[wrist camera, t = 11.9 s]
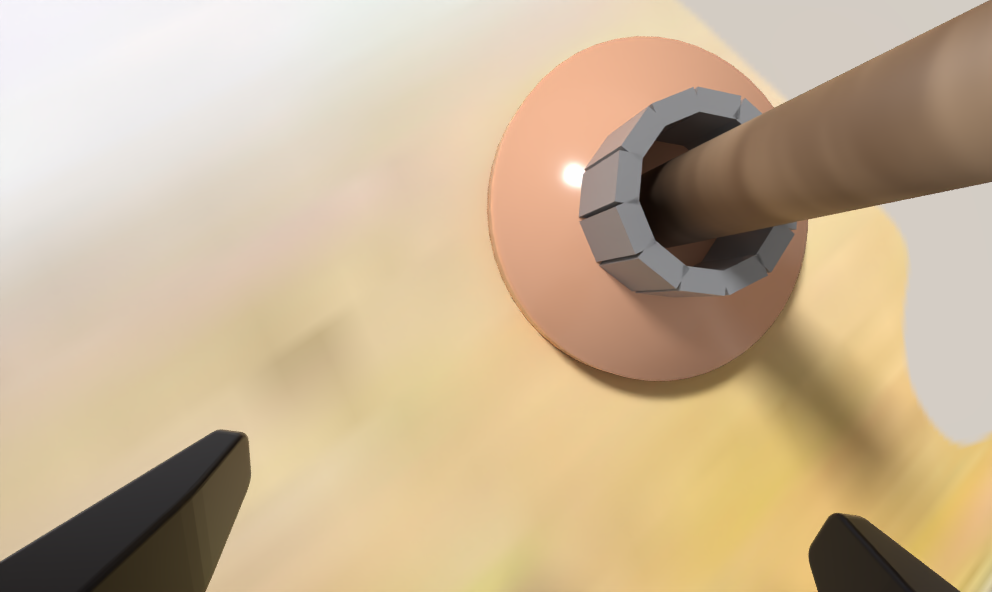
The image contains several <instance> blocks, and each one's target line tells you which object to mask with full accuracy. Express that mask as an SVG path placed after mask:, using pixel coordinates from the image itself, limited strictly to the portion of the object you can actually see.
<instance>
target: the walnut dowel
mask: <svg viewBox="0 0 992 592" xmlns="http://www.w3.org/2000/svg"><path fill="white" fill-rule="evenodd" d="M988 182H992V0H989V1H987V2H985V3H983V4H981V5H979V6H977V7H975V8H973V9H971V10H969V11H967V12H965V13H963V14H961V15H959V16H957V17H955V18H953V19H951V20H949V21H947V22H945V23H943V24H941V25H939V26H937V27H935V28H933V29H931V30H929V31H927V32H925V33H923V34H921V35H919V36H917V37H915V38H913V39H911V40H909V41H907V42H905V43H903V44H901V45H899V46H897V47H895V48H894V49H891V50H889V51H887V52H885V53H883V54H881V55H879V56H877V57H875V58H873V59H871V60H869V61H867V62H865V63H863V64H861V65H859V66H857V67H855V68H853V69H851V70H850V71H847V72H845V73H843V74H841V75H839V76H837V77H835V78H833V79H831V80H829V81H827V82H825V83H823V84H821V85H819V86H817V87H815V88H813V89H812V90H809V91H807V92H805V93H803V94H801V95H799V96H797V97H795V98H793V99H791V100H789V101H787V102H785V103H783V104H781V105H779V106H777V107H775V108H773V109H771V110H769V111H767V112H765V113H763V114H761V115H759V116H757V117H755V118H753V119H751V120H749V121H747V122H745V123H743V124H741V125H739V126H737V127H735V128H733V129H731V130H729V131H727V132H725V133H723V134H721V135H719V136H717V137H715V138H713V139H711V140H709V141H707V142H705V143H703V144H701V145H699V146H697V147H695V148H693V149H691V150H689V151H687V152H685V153H683V154H681V155H679V156H677V157H675V158H673V159H671V160H669V161H667V162H665V163H663V164H661V165H659V166H657V167H655V168H653V169H651V170H649V171H647V172H645V173H644V174H642V175H641V183H640V194H639V202H640V205H641V207H642V210H643V212H644V214H645V217H646V219H647V222H648V224H649V227H650V229H651V231H652V234H653V236H654V239H655V241H656V242H658V243H659V244H660V245H661V246H663V247H664V248H670V247H675V246H680V245H685V244H690V243H695V242H699V241H704V240H709V239H714V238H719V237H724V236H729V235H734V234H739V233H744V232H748V231H753V230H758V229H763V228H768V227H773V226H778V225H783V224H788V223H793V222H797V221H802V220H807V219H812V218H817V217H822V216H827V215H832V214H837V213H842V212H846V211H851V210H856V209H861V208H866V207H871V206H876V205H881V204H886V203H891V202H895V201H900V200H905V199H910V198H915V197H920V196H925V195H930V194H935V193H940V192H944V191H949V190H954V189H959V188H964V187H969V186H974V185H979V184H984V183H988Z"/></svg>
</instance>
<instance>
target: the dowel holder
mask: <svg viewBox="0 0 992 592" xmlns="http://www.w3.org/2000/svg"><path fill="white" fill-rule="evenodd" d="M773 108H774V107H773V106H772V105H771V103H770V102H769V101H768V99H767V98H766V97H765V95H764V94H763V93H762V92H761V91H760V90H759V89H758V88H757V87H756V86H755V85H754V84H753V83H752V82H751V81H750V79H748V78H747V77H746V76H745V75H744V74H742V73H741V72H740V71H739V70H737V69H736V68H735V67H734V66H732V65H731V64H729V63H728V62H726V61H725V60H723V59H721V58H720V57H718V56H717V55H715V54H713V53H710V52H708V51H706V50H704V49H702V48H700V47H697V46H695V45H691V44H688V43H685V42H682V41H678V40H673V39H667V38H661V37H641V36H636V37H628V38H620V39H614V40H610V41H607V42H603V43H600V44H596V45H594V46H592V47H589V48H587V49H585V50H583V51H580V52H578V53H576V54H575V55H573V56H572V57H570V58H568V59H567V60H565V61H564V62H562V63H561V64H559V65H558V66H557V67H555V68H554V69H553V70H552V71H551V72H550V73H549V74H547V75H546V76H545V77H544V78H543V79H542V80H541V81H540V82H539V83H538V85H537V86H536V87H535V88H534V89H533V90H532V91H531V93H530V94H529V95H528V96H527V98H526V99H525V100H524V102H523V103H522V104H521V106H520V107H519V109H518V110H517V112H516V113H515V115H514V116H513V118H512V120H511V121H510V123H509V124H508V126H507V128H506V130H505V132H504V134H503V137H502V139H501V141H500V143H499V145H498V148H497V151H496V155H495V158H494V161H493V164H492V168H491V174H490V180H489V186H488V204H487V215H488V226H489V236H490V240H491V245H492V249H493V253H494V258H495V260H496V263H497V266H498V269H499V271H500V274H501V277H502V279H503V281H504V283H505V285H506V287H507V289H508V291H509V293H510V295H511V297H512V299H513V300H514V302H515V303H516V305H517V306H518V308H519V309H520V310H521V312H522V313H523V315H524V316H525V318H526V319H527V320H528V321H529V322H530V323H531V324H532V325H533V326H534V328H535V329H536V330H537V331H538V332H539V333H540V334H541V335H542V336H543V337H545V338H546V339H547V340H548V341H549V342H550V343H552V344H553V345H554V346H555V347H556V348H558V349H559V350H561V351H563V352H564V353H566V354H567V355H569V356H570V357H572V358H573V359H575V360H577V361H580V362H582V363H584V364H586V365H588V366H590V367H593V368H596V369H599V370H602V371H606V372H609V373H612V374H616V375H619V376H623V377H626V378H633V379H639V380H646V381H671V380H678V379H685V378H690V377H693V376H697V375H700V374H704V373H707V372H710V371H712V370H714V369H716V368H718V367H721V366H723V365H725V364H727V363H728V362H730V361H732V360H733V359H735V358H736V357H738V356H739V355H741V354H743V353H744V352H745V351H746V350H747V349H749V348H750V347H751V346H752V345H753V344H754V343H756V342H757V341H758V340H759V339H760V338H761V337H762V336H763V334H764V333H765V332H766V331H767V330H768V329H769V328H770V327H771V326H772V324H773V323H774V321H775V320H776V318H777V317H778V316H779V314H780V313H781V311H782V310H783V308H784V306H785V304H786V303H787V301H788V299H789V297H790V295H791V293H792V291H793V289H794V286H795V283H796V281H797V278H798V275H799V273H800V269H801V265H802V261H803V257H804V253H805V247H806V240H807V232H808V219H807V220H802V221H797V222H793V223H788V224H783V225H778V226H773V227H768V228H763V229H758V230H753V231H748V232H744V233H739V234H734V235H729V236H724V237H719V238H714V239H709V240H704V241H699V242H695V243H690V244H685V245H680V246H675V247H670V248H664V247H663V246H661V245H660V244H659V243H658V242H656V241H655V239H654V236H653V234H652V231H651V229H650V227H649V224H648V222H647V219H646V217H645V214H644V212H643V210H642V207H641V205H640V202H639V194H640V183H641V175H642V174H644V173H645V172H647V171H649V170H651V169H653V168H655V167H657V166H659V165H661V164H663V163H665V162H667V161H669V160H671V159H673V158H675V157H677V156H679V155H681V154H683V153H685V152H687V151H689V150H691V149H693V148H695V147H697V146H699V145H701V144H703V143H705V142H707V141H709V140H711V139H713V138H715V137H717V136H719V135H721V134H723V133H725V132H727V131H729V130H731V129H733V128H735V127H737V126H739V125H741V124H743V123H745V122H747V121H749V120H751V119H753V118H755V117H757V116H759V115H761V114H763V113H765V112H767V111H769V110H771V109H773Z"/></svg>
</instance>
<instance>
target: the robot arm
mask: <svg viewBox="0 0 992 592" xmlns="http://www.w3.org/2000/svg"><path fill="white" fill-rule="evenodd" d="M250 479H251V466H250V453H249V441H248V437H247V435H246V434H245V433H243V432H236V431H229V430H216V431H214V432H212V433H210V434H209V435H207V436H205V437H204V438H202V439H200V440H199V441H197V442H196V443H194V444H192V445H191V446H189V447H187V448H186V449H184V450H182V451H181V452H179V453H178V454H176V455H174V456H173V457H171V458H169V459H168V460H166V461H164V462H163V463H161V464H159V465H158V466H156V467H155V468H153V469H151V470H150V471H148V472H146V473H145V474H143V475H141V476H140V477H138V478H137V479H135V480H133V481H132V482H130V483H128V484H127V485H125V486H123V487H122V488H120V489H118V490H117V491H115V492H114V493H112V494H110V495H109V496H107V497H105V498H104V499H102V500H100V501H99V502H97V503H96V504H94V505H92V506H91V507H89V508H87V509H86V510H84V511H82V512H81V513H79V514H78V515H76V516H74V517H73V518H71V519H69V520H68V521H66V522H64V523H63V524H61V525H59V526H58V527H56V528H55V529H53V530H51V531H50V532H48V533H46V534H45V535H43V536H41V537H40V538H38V539H37V540H35V541H33V542H32V543H30V544H28V545H27V546H25V547H23V548H22V549H20V550H18V551H17V552H15V553H14V554H12V555H10V556H9V557H7V558H5V559H4V560H2V561H0V592H205V591H206V589H207V587H208V585H209V582H210V580H211V578H212V575H213V573H214V571H215V568H216V566H217V563H218V561H219V558H220V556H221V554H222V551H223V549H224V546H225V544H226V541H227V539H228V536H229V534H230V532H231V529H232V527H233V524H234V522H235V519H236V517H237V514H238V512H239V509H240V507H241V505H242V502H243V500H244V497H245V495H246V492H247V490H248V487H249V483H250ZM809 563H810V567H811V570H812V574H813V577H814V580H815V584H816V587H817V590H818V592H960V591H959V590H958V589H956V588H955V587H954V586H952V585H951V584H950V583H948V582H947V581H946V580H944V579H943V578H942V577H941V576H939V575H938V574H937V573H935V572H934V571H933V570H931V569H930V568H929V567H928V566H926V565H925V564H924V563H922V562H921V561H920V560H918V559H917V558H916V557H914V556H913V555H912V554H911V553H909V552H908V551H907V550H905V549H904V548H903V547H901V546H900V545H899V544H898V543H896V542H895V541H894V540H892V539H891V538H890V537H888V536H887V535H886V534H884V533H883V532H882V531H881V530H879V529H878V528H877V527H875V526H874V525H873V524H871V523H870V522H869V521H868V520H866V519H865V518H863V517H860V516H856V515H849V514H842V513H834V514H832V515H830V516H829V517H828V518H827V520H826V521H825V523H824V525H823V526H822V528H821V529H820V531H819V533H818V534H817V536H816V537H815V539H814V541H813V542H812V544H811V546H810V548H809Z"/></svg>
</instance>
